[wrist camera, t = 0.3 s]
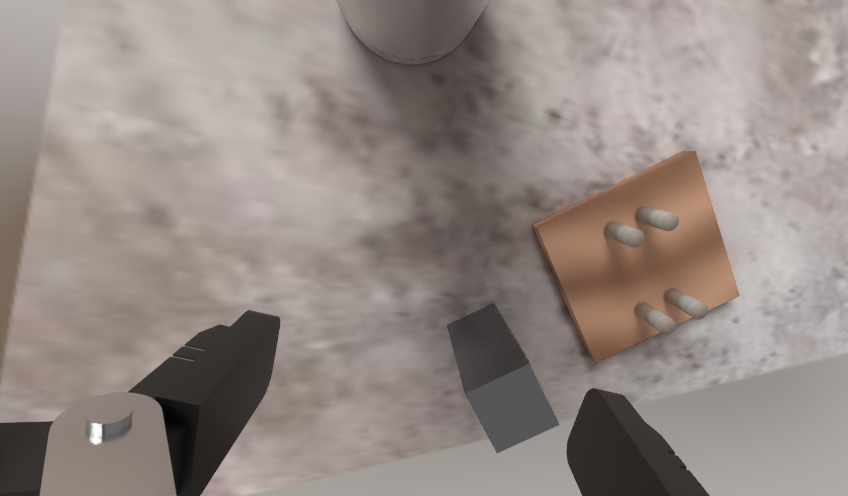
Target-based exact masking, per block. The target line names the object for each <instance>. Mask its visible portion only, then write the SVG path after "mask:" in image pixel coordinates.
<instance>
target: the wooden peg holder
mask: <svg viewBox="0 0 848 496" xmlns="http://www.w3.org/2000/svg"><path fill="white" fill-rule="evenodd" d="M532 226H533V228H534V231H535V233H536V235H537V238H538V240H539V242H540V245H541V247H542V249H543V252H544V254H545V256H546V259H547V261H548V263H549V265H550V268H551V270H552V272H553V275H554V277H555V279H556V282H557V284H558V286H559V289H560V291H561V293H562V296H563V298H564V300H565V303H566V305H567V307H568V310H569V312H570V314H571V317H572V319H573V321H574V324H575V326H576V328H577V331H578V333H579V335H580V338H581V340H582V342H583V344H584V347H585V349H586V351H587V354H588V356H589V357H590V358H591V359H592V360H593V361H594V362H595V363H596V362H598V361H600V360H603V359H605V358H607V357H609V356H611V355H613V354H616V353H618V352H620V351H622V350H624V349H626V348H628V347H631V346H633V345H635V344H637V343H639V342H641V341H644V340H646V339H648V338H650V337H652V336H654V335H656V334H659V333H662V334H669V333H671V332H672V331H673V330H674V329H675V326H676V325H678V324H680V323H682V322H685V321H687V320H689V319H691V318H695V319H701V318H703V317H705V316H706V315H707V313H708V310H710V309H713V308H715V307H717V306H719V305H721V304H723V303H726V302H728V301H730V300H732V299H734V298H736V297H738V296H739V292H738V289H737V286H736V282H735V279H734V276H733V273H732V269H731V266H730V263H729V260H728V256H727V253H726V250H725V246H724V243H723V240H722V237H721V233H720V230H719V227H718V223H717V220H716V217H715V214H714V210H713V207H712V204H711V200H710V197H709V194H708V191H707V187H706V184H705V181H704V177H703V174H702V171H701V168H700V164H699V161H698V158H697V154H696V151H682V152H680V153H678V154H676V155H674V156H672V157H670V158H668V159H666V160H664V161H662V162H660V163H658V164H656V165H654V166H652V167H650V168H648V169H646V170H644V171H642V172H640V173H637V174H635V175H633V176H631V177H629V178H627V179H625V180H623V181H621V182H619V183H617V184H615V185H613V186H611V187H609V188H607V189H605V190H603V191H601V192H599V193H597V194H595V195H592V196H590V197H588V198H586V199H584V200H582V201H580V202H578V203H576V204H574V205H572V206H570V207H568V208H566V209H564V210H562V211H560V212H558V213H556V214H554V215H552V216H550V217H548V218H545V219H543V220H541V221H539V222H537V223H535V224H533V225H532Z"/></svg>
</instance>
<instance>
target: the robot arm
mask: <svg viewBox="0 0 848 496" xmlns="http://www.w3.org/2000/svg"><path fill="white" fill-rule="evenodd" d="M488 2H489V0H338V3H339V5H340V7H341V10H342V12H343V14H344V17H345V19H346V21H347V23H348V24H349V26H350V28H351V29H352V31H353V33H354V34H355V35H356V37H357V38H358V39H359V40H360V41H361V42H362V43H363V44H364V45H365V46H366V47H367V48H368V49H370V50H371V51H372V52H374V53H375V54H377V55H378V56H380V57H382V58H385V59H387V60H389V61H391V62H396V63H401V64H406V65H413V64H424V63H428V62H432V61H436V60H438V59H439V58H441V57H443V56H445V55H447V54H449V53H450V52H451V51H453V50H454V49H455V48H456V47H457V46H458V45H460V44H461V43H462V41H463V40H464V39H465V37H466V36H467V35H468V34H469V32H470V31H471V29H472V28H473V26H474V24H475V23H476V21H477V19H478V18H479V16H480V15H481V13H482V12H483V10H484V8H485V7H486V5H487V4H488ZM279 329H280V318H279V317H278V316H273V315H269V314H264V313H260V312H255V311H251V310H248V311H246V312H245V313H244V314H243V315H242V316H241V317H240V318H239V319H238V320H237V321H236V322H235V323H233V324H232V325H231V326H230V327H228V326H224V325H218V326H215V327H213V328H210V329H207V330H205V331H202V332H200V333H198V334H197V335H196V336H195V337H193V338H192V339H191V340H190V341H189V342H187V343H186V344H185V346H184V347H181V348H180V349H179V350H178V351H177V352H175V353H174V354H173V356H172V357H169V358H168V359H167V360H166V361H165V362H163V363H162V364H161V365H160V366H159V367H157V368H156V369H155V370H154V371H153V372H151V373H150V374H149V375H148V376H147V377H145V378H144V379H143V380H142V381H141V382H139V383H138V384H137V385H136V386H134V387H133V388H132V389H131V390H130V391H128V392H125V393H110V394H105V395H100V396H96V397H93V398H89V399H87V400H84V401H81V402H79V403H77V404H75V405H73V406H72V407H70V408H68V409H67V410H65V411H64V412H63V413H61V414H60V415H59V416H58V417H57V418H56V419H55V420H54V421H50V422H17V423H0V496H200V495H201V494H202V492H203V490H204V489H205V487H206V486H207V484H208V483H209V481H210V480H211V478H212V476H213V475H214V473H215V472H216V470H217V469H218V467H219V466H220V464H221V462H222V461H223V459H224V458H225V456H226V455H227V453H228V452H229V450H230V448H231V447H232V445H233V444H234V442H235V441H236V439H237V438H238V436H239V434H240V433H241V431H242V430H243V428H244V427H245V425H246V424H247V422H248V420H249V419H250V417H251V416H252V414H253V413H254V411H255V410H256V408H257V406H258V405H259V403H260V402H261V400H262V399H263V397H264V395H265V393H266V390H267V388H268V385H269V382H270V379H271V375H272V370H273V364H274V358H275V352H276V347H277V341H278V335H279ZM567 460H568V464H569V466H570V468H571V471H572V473H573V475H574V478H575V480H576V482H577V485H578V487H579V489H580V491H581V494H582V496H709V494H708V493H707V492H706V491H705V489H704V488H703V487H702V486H701V484H700V483H699V482H698V481H697V479H696V478H695V477H694V476H693V474H692V473H691V472H690V471H689V470H686V466H685V464H684V463H683V462H682V461H681V459H680V458H679V457H678V456H676V455H675V452H674V451H673V449H672V448H671V447H670V446H669V444H668V443H667V442H666V441H665V439H664V438H663V437H662V436H661V435H660V434H659V433H658V432H657V431H655V430H654V429H653V428H651V426H649V425H648V424H647V423H646V422H644V420H643V419H642V418H641V416H640V415H639V414H638V413H637V411H636V410H635V409H634V408H633V406H632V405H631V404H630V402H629V401H628V400H627V399H626V397H625V396H623V395H621V394H617V393H612V392H608V391H603V390H599V389H595V388H592V389H590V390H589V391H588V392H587V393H586V395H585V397H584V400H583V402H582V405H581V407H580V410H579V413H578V415H577V418H576V420H575V423H574V426H573V428H572V430H571V433H570V436H569V439H568V442H567Z"/></svg>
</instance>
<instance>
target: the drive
mask: <svg viewBox="0 0 848 496" xmlns="http://www.w3.org/2000/svg"><path fill="white" fill-rule="evenodd" d="M447 327H448V331H449V335H450V338H451V342H452V346H453V350H454V353H455V357H456V361H457V365H458V369H459V372H460V376H461V380H462V384H463V387H464V391H465V394H466V396H467V398H468V400H469V402H470V404H471V406H472V407H473V409H474V411H475V413H476V415H477V417H478V419H479V420H480V422H481V424H482V426H483V428H484V430H485V432H486V433H487V435H488V437H489V439H490V441H491V443H492V445H493V447H494V448H495V450H496V452H497V453H499V452H501V451H503V450H505V449H507V448H510V447H512V446H514V445H516V444H518V443H521V442H523V441H525V440H527V439H529V438H531V437H534V436H536V435H538V434H540V433H542V432H544V431H547V430H549V429H551V428H553V427H556V426H558V425H559V423H558V421H557V419H556V417H555V415H554V413H553V411H552V409H551V406H550V404H549V402H548V399H547V397H546V395H545V393H544V391H543V389H542V387H541V385H540V382H539V380H538V378H537V376H536V374H535V372H534V370H533V368H532V366H531V364H530V361H529V360H528V358H527V356H526V355H525V353H524V351H523V350H522V348H521V347H520V345H519V343H518V342H517V340H516V338H515V337H514V335H513V333H512V332H511V330H510V329H509V328H508V326H507V324H506V323H505V321H504V319H503V318H502V316H501V314H500V313H499V311H498V309H497V308H496V306H495V304H494V303H493V304H491V305H489V306H487V307H485V308H482V309H480V310H478V311H476V312H474V313H472V314H470V315H468V316H466V317H464V318H462V319H460V320H457V321H455V322H453V323H451V324H449V325H447Z"/></svg>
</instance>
